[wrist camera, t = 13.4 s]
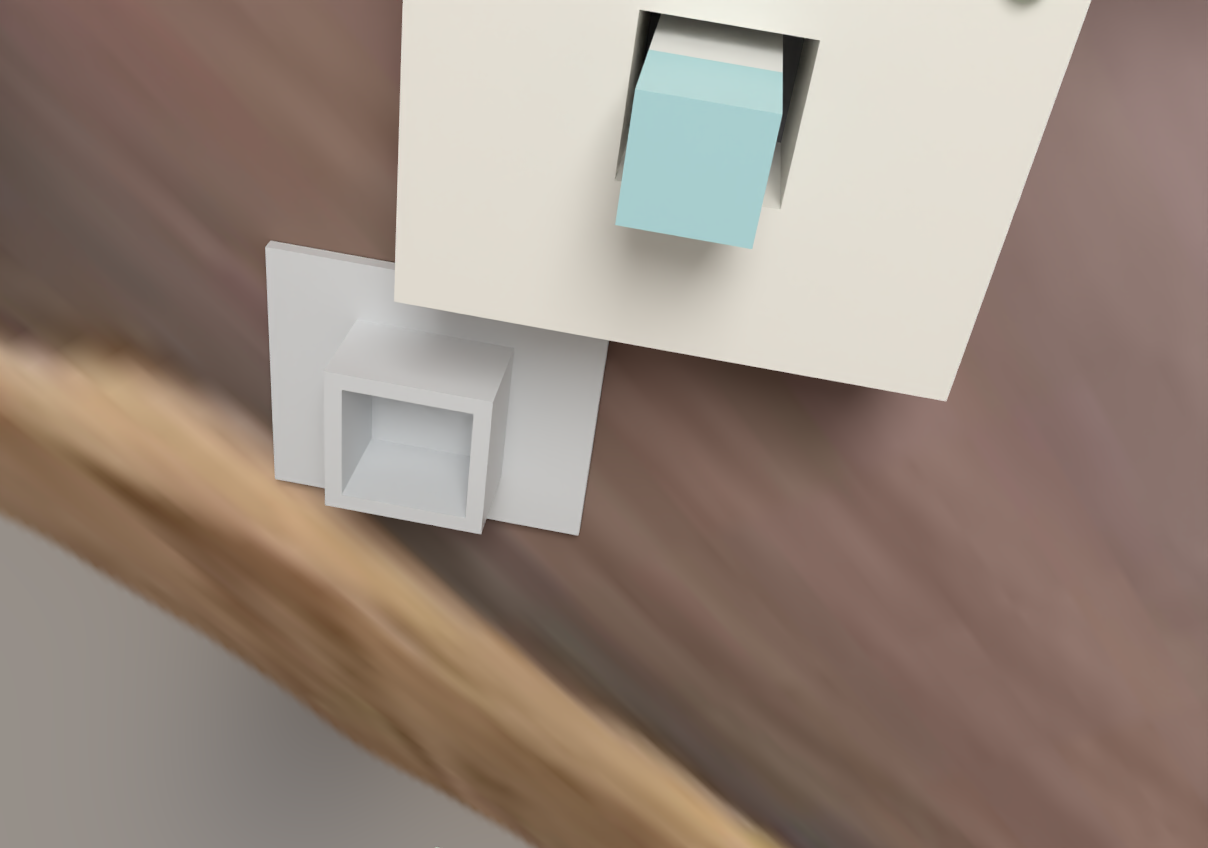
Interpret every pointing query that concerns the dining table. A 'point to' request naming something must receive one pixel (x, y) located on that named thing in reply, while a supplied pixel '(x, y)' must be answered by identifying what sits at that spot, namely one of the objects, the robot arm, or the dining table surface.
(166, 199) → the dining table surface
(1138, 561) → the dining table surface
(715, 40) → the plug
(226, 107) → the dining table surface
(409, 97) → the port
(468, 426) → the holster
